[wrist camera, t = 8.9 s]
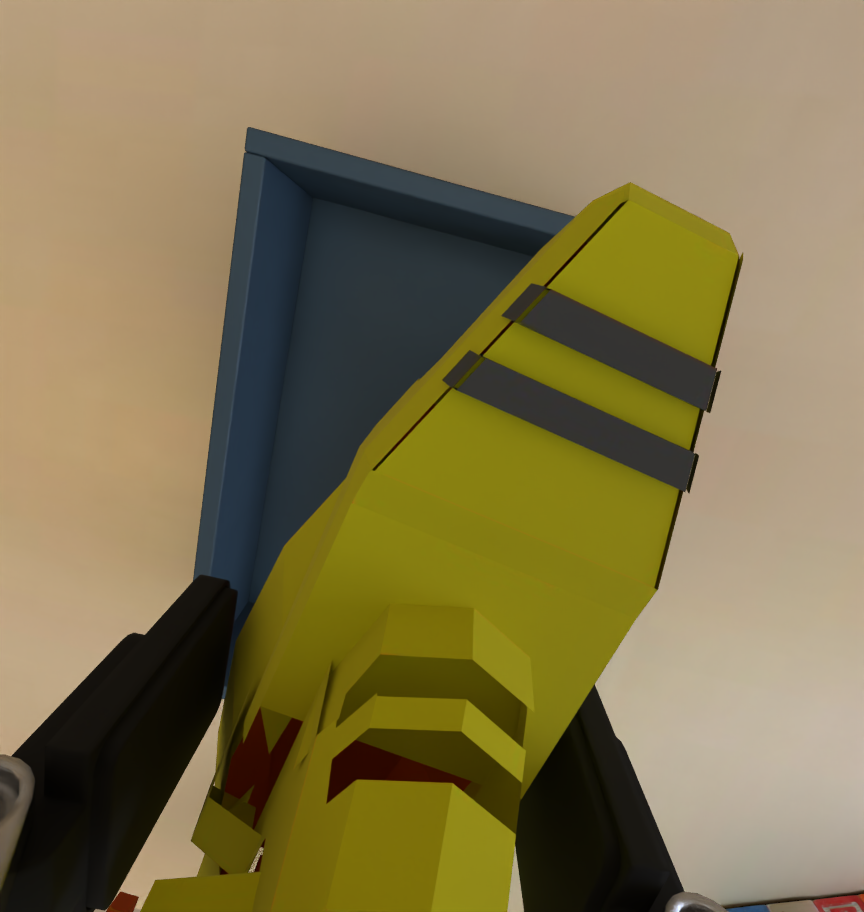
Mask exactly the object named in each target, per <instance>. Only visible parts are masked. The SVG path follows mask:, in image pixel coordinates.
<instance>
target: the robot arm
mask: <svg viewBox="0 0 864 912" xmlns="http://www.w3.org/2000/svg"><path fill="white" fill-rule="evenodd" d="M237 598H238V591H237V590H235V589H231V588H230V581H229V580H225V579H221V578H216V577H212V576H207V575H203V574H202V575H199V576H198V577H197V578H196V579H195V580H194V581H193V582H192V583H191V584H190V586H189V587H188V588H187V589H186V590H185V591H184V592H183V593H182V594H181V596H180V597H179V598H178V599H177V600H176V601H175V602H174V603H173V604H172V606H171V607H170V608H169V609H168V610H167V611H166V612H165V613H164V614H163V615H162V617H161V618H160V619H159V620H158V621H157V622H156V623H155V624H154V625H153V627H152V628H151V629H150V630H149V631H148V632H147V633H146V634H145V635H142V634H138V633H132V634H129V635H128V636H126V637H125V638H124V639H123V640H122V641H121V642H120V643H119V644H118V645H117V646H116V647H115V648H114V649H113V650H112V651H111V652H110V653H109V654H108V655H107V657H106V658H105V659H104V660H103V661H102V662H101V663H100V664H99V665H98V666H97V667H96V668H95V669H94V670H93V671H92V672H91V673H90V674H89V675H88V676H87V677H86V678H85V680H84V681H83V682H82V683H81V684H80V685H79V686H78V687H77V688H76V689H75V690H74V691H73V692H72V693H71V694H70V695H69V696H68V697H67V698H66V699H65V700H64V701H63V703H62V704H61V705H60V706H59V707H58V708H57V709H56V710H55V711H54V712H53V713H52V714H51V715H50V716H49V717H48V718H47V719H46V720H45V721H44V722H43V723H42V725H41V726H40V727H39V728H38V729H37V730H36V731H35V732H34V733H33V734H32V735H31V736H30V737H29V738H28V739H27V740H26V741H25V742H24V743H23V744H22V745H21V746H20V748H19V749H18V750H17V751H16V752H15V753H14V754H13V755H12V756H8V755H0V912H94V910H95V909H100V910H106V909H107V908H108V907H109V906H110V904H111V903H112V901H113V900H114V898H115V896H116V894H117V893H118V891H119V889H120V887H121V885H122V884H123V882H124V880H125V878H126V876H127V874H128V873H129V871H130V869H131V867H132V865H133V864H134V862H135V860H136V858H137V856H138V855H139V853H140V851H141V849H142V847H143V845H144V844H145V842H146V840H147V838H148V836H149V835H150V833H151V831H152V829H153V827H154V826H155V824H156V822H157V820H158V818H159V816H160V815H161V813H162V811H163V809H164V807H165V806H166V804H167V802H168V800H169V798H170V797H171V795H172V793H173V791H174V789H175V787H176V786H177V784H178V782H179V780H180V778H181V777H182V775H183V773H184V771H185V769H186V768H187V766H188V764H189V762H190V760H191V758H192V757H193V755H194V753H195V751H196V749H197V748H198V746H199V744H200V742H201V740H202V739H203V737H204V735H205V733H206V731H207V729H208V728H209V726H210V724H211V722H212V720H213V719H214V717H215V715H216V713H217V711H218V708H219V706H220V703H221V699H222V695H223V690H224V683H225V676H226V670H227V663H228V657H229V650H230V644H231V637H232V630H233V624H234V617H235V611H236V604H237ZM515 847H516V854H517V861H518V869H519V876H520V883H521V891H522V898H523V905H524V912H729V911H727V910H726V909H724V908H723V907H722V906H720V905H719V904H717V903H716V902H715V901H713V900H711V899H709V898H707V897H704V896H702V895H700V894H698V893H691V892H684V889H683V887H682V884H681V882H680V880H679V877H678V875H677V872H676V870H675V868H674V865H673V863H672V860H671V858H670V856H669V853H668V851H667V848H666V846H665V844H664V841H663V839H662V836H661V834H660V832H659V829H658V827H657V824H656V822H655V819H654V817H653V815H652V812H651V810H650V807H649V805H648V803H647V800H646V798H645V795H644V793H643V791H642V788H641V786H640V783H639V781H638V779H637V776H636V774H635V771H634V769H633V766H632V764H631V762H630V759H629V757H628V754H627V752H626V750H625V748H624V746H623V744H622V742H621V741H620V740H619V739H618V738H617V737H616V736H615V733H614V731H613V729H612V726H611V724H610V721H609V719H608V716H607V714H606V711H605V709H604V706H603V704H602V701H601V699H600V696H599V694H598V692H597V689H596V687H595V684H594V686H593V687H592V689H591V690H590V692H589V694H588V695H587V697H586V698H585V700H584V701H583V703H582V705H581V706H580V708H579V709H578V711H577V712H576V714H575V716H574V717H573V719H572V720H571V722H570V723H569V725H568V727H567V728H566V730H565V731H564V733H563V734H562V736H561V738H560V739H559V741H558V742H557V744H556V745H555V747H554V749H553V750H552V752H551V753H550V755H549V756H548V758H547V760H546V761H545V763H544V764H543V766H542V767H541V769H540V771H539V772H538V774H537V775H536V777H535V778H534V780H533V782H532V783H531V785H530V786H529V788H528V789H527V791H526V793H525V794H524V796H523V797H522V799H521V800H520V804H519V812H518V820H517V828H516V840H515Z"/></svg>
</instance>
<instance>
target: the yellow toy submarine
mask: <svg viewBox="0 0 864 912" xmlns="http://www.w3.org/2000/svg"><path fill="white" fill-rule="evenodd" d="M742 261H743V253H742V255H741V257H740V259H739V255H738V252H737V250H736V247H735V245H734V243H733V240H732V238H731V236H730V233H728V232H726V231H724V230H722V229H720V228H718V227H716V226H714V225H713V224H711V223H709V222H707V221H705V220H703V219H701V218H699V217H697V216H695V215H693V214H691V213H689V212H687V211H685V210H683V209H681V208H680V207H678V206H676V205H674V204H672V203H670V202H668V201H666V200H664V199H662V198H660V197H658V196H656V195H654V194H652V193H650V192H648V191H646V190H645V189H643V188H641V187H639V186H637V185H635V184H633V183H631V182H630V183H628V184H626V185H623V186H621V187H619V188H617V189H615V190H613V191H611V192H609V193H607V194H605V195H603V196H601V197H599V198H597V199H595V200H593V201H592V202H591V203H590V204H589V205H588V206H587V207H585V208H584V209H583V210H582V211H581V212H580V213H579V214H578V215H577V216H576V217H575V218H574V219H573V220H572V221H570V222H569V223H568V224H567V225H566V226H565V227H564V228H563V229H562V230H561V231H560V232H559V233H558V234H556V235H555V236H554V237H553V238H552V239H551V240H550V241H549V242H548V243H547V244H546V245H545V246H544V247H542V248H541V249H540V250H539V252H538V253H537V254H536V255H535V256H534V257H533V258H532V259H531V260H530V261H529V263H528V264H527V265H526V266H525V267H524V268H523V269H522V270H521V271H520V272H519V274H518V275H517V276H516V277H515V278H514V279H513V280H512V281H511V282H510V283H509V284H508V286H507V287H506V288H505V289H504V290H503V291H502V292H501V293H500V294H499V295H498V297H497V298H496V299H495V300H494V301H493V302H492V303H491V304H490V305H489V306H488V307H487V309H486V310H485V311H484V312H483V313H482V314H481V315H480V316H479V317H478V318H477V320H476V321H475V322H474V323H473V324H472V325H471V326H470V327H469V328H468V329H467V331H466V332H465V333H464V334H463V335H462V336H461V337H460V338H459V339H458V340H457V341H456V343H455V344H454V345H453V346H452V347H451V348H450V349H449V350H448V351H447V352H446V354H445V355H444V356H443V357H442V358H441V359H440V360H439V361H438V362H437V363H436V364H435V365H434V366H433V367H432V368H431V369H430V370H429V371H428V372H427V373H426V374H425V375H424V376H423V377H422V378H421V379H418V380H417V381H416V382H415V383H414V384H413V385H412V386H411V387H410V388H409V389H408V390H407V392H406V393H405V394H404V395H403V396H402V397H401V398H400V399H399V400H398V401H397V403H396V404H395V405H394V406H393V407H392V408H391V409H390V410H389V411H388V412H387V413H386V415H385V416H384V417H383V418H382V419H381V420H380V421H379V422H378V423H377V424H376V426H375V427H374V428H373V430H372V431H371V432H370V434H369V435H368V436H367V437H366V439H365V440H364V441H363V443H362V444H361V445H360V447H359V449H358V451H357V454H356V456H355V458H354V461H353V463H352V465H351V468H350V470H349V472H348V475H347V477H346V479H345V480H344V481H343V482H342V483H341V484H340V485H339V486H338V487H337V489H336V490H335V491H334V492H333V493H332V494H331V495H330V496H329V497H328V498H327V499H326V501H325V502H324V503H323V504H322V505H321V506H320V507H319V508H318V509H317V510H316V511H315V513H314V514H313V515H312V516H311V517H310V518H309V519H308V520H307V521H306V522H305V524H304V525H303V526H302V527H301V528H300V529H299V530H298V531H297V532H296V533H295V534H294V536H293V537H292V538H291V539H290V540H289V541H288V542H287V543H286V544H285V545H284V547H283V549H282V551H281V553H280V555H279V557H278V559H277V561H276V563H275V565H274V567H273V569H272V571H271V573H270V575H269V577H268V579H267V581H266V583H265V585H264V587H263V589H262V590H261V592H260V594H259V596H258V598H257V600H256V602H255V604H254V606H253V608H252V610H251V612H250V614H249V616H248V618H247V620H246V622H245V624H244V626H243V628H242V630H241V632H240V634H239V636H238V638H237V640H236V643H235V648H234V653H233V658H232V663H231V669H230V674H229V679H228V684H227V690H226V695H225V700H224V705H223V710H222V716H221V721H220V726H219V731H218V744H217V759H216V773H215V775H214V778H213V780H212V783H211V785H210V788H209V791H208V794H207V796H206V799H205V802H204V805H203V808H202V811H201V813H200V816H199V819H198V822H197V825H196V827H195V830H194V833H193V836H192V839H191V842H193V843H194V844H195V845H196V846H197V847H198V848H200V849H201V850H202V851H203V852H204V853H205V855H204V858H203V861H202V863H201V866H200V869H199V872H198V874H197V877H188V878H176V879H163V880H155V882H154V884H153V886H152V888H151V890H150V893H149V895H148V897H147V899H146V901H145V903H144V905H143V907H142V909H141V911H140V912H507V909H508V900H509V892H510V883H511V874H512V866H513V857H514V848H515V840H516V828H517V820H518V812H519V804H520V800H521V799H522V797H523V796H524V794H525V793H526V791H527V789H528V788H529V786H530V785H531V783H532V782H533V780H534V778H535V777H536V775H537V774H538V772H539V771H540V769H541V767H542V766H543V764H544V763H545V761H546V760H547V758H548V756H549V755H550V753H551V752H552V750H553V749H554V747H555V745H556V744H557V742H558V741H559V739H560V738H561V736H562V734H563V733H564V731H565V730H566V728H567V727H568V725H569V723H570V722H571V720H572V719H573V717H574V716H575V714H576V712H577V711H578V709H579V708H580V706H581V705H582V703H583V701H584V700H585V698H586V697H587V695H588V694H589V692H590V690H591V689H592V687H593V686H594V684H595V683H596V681H597V679H598V678H599V676H600V675H601V673H602V672H603V670H604V668H605V667H606V665H607V664H608V662H609V661H610V659H611V657H612V656H613V654H614V653H615V651H616V650H617V648H618V646H619V645H620V643H621V642H622V640H623V639H624V637H625V635H626V634H627V632H628V631H629V629H630V628H631V626H632V624H633V623H634V621H635V620H636V618H637V617H638V616H639V614H640V613H641V611H642V610H643V609H644V607H645V606H646V605H647V603H648V602H649V601H650V599H651V598H652V597H653V595H654V594H655V592H656V591H657V590H658V587H659V583H660V580H661V576H662V572H663V568H664V564H665V560H666V556H667V552H668V549H669V545H670V541H671V537H672V533H673V529H674V525H675V521H676V518H677V514H678V510H679V506H680V502H681V498H682V494H683V491H684V492H685V491H686V489H687V491H688V493H689V492H690V488H691V485H692V481H693V477H694V473H695V469H696V465H697V462H698V458H699V455H698V454H696V453H695V454H694V453H693V452H694V448H695V444H696V440H697V436H698V432H699V428H700V424H701V420H702V417H703V413H704V411H706V410H707V411H706V412H709V413H710V412H711V408H712V404H713V401H714V397H715V393H716V389H717V385H718V381H719V378H720V374H721V371H718V372H716V371H717V368H715V366H716V362H717V358H718V355H719V351H720V347H721V343H722V339H723V335H724V331H725V327H726V323H727V320H728V316H729V312H730V308H731V304H732V300H733V296H734V292H735V289H736V285H737V281H738V277H739V273H740V269H741V265H742ZM715 375H716V376H715ZM714 379H715V380H714ZM713 383H714V384H713ZM712 387H713V388H712ZM711 390H712V392H711ZM710 394H711V396H710ZM709 398H710V399H709ZM708 402H709V403H708ZM707 406H708V407H707ZM694 456H695V457H694ZM693 460H694V461H693ZM692 464H693V465H692ZM691 468H692V469H691ZM690 472H691V473H690ZM689 475H690V477H689ZM688 479H689V480H688ZM687 483H688V484H687ZM686 487H687V488H686ZM214 782H215V786H213V784H214ZM260 847H262V848H264V850H263V855H260V858H259V860H258V863H257V865H256V868H255V870H254V872H251V873H248V872H249V869H250V867H251V865H252V863H253V861H254V859H255V857H256V855H257V852H258V850H259V848H260ZM138 898H139V897H137V896H134V895H131V894H127V893H124V892H120V893H119V894H118V896H117V897H116V898H115V900H114V901H113V902H112V903H111V905H110V906H109V907H108V909H107V911H106V912H133V911H134V908H135V906H136V903H137V900H138Z"/></svg>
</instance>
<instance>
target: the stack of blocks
mask: <svg viewBox="0 0 864 912" xmlns="http://www.w3.org/2000/svg"><path fill="white" fill-rule="evenodd" d="M726 910H727V911H729V912H864V894H859V895H857V896H856V895H851V896H842V897H833V898H825V899H815V900H813V901H811V900H804V901H795V902H786V903H776V904H768V905H756V906H747V907H739V908H730V909H726Z"/></svg>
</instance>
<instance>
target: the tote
mask: <svg viewBox="0 0 864 912" xmlns="http://www.w3.org/2000/svg"><path fill="white" fill-rule="evenodd" d="M245 151H246V152H245V153H244V159H243V168H242V176H241V184H240V193H239V201H238V209H237V218H236V226H235V235H234V243H233V251H232V260H231V268H230V276H229V285H228V293H227V301H226V310H225V318H224V326H223V335H222V343H221V352H220V360H219V368H218V377H217V385H216V393H215V402H214V410H213V418H212V427H211V435H210V443H209V452H208V460H207V469H206V477H205V485H204V494H203V502H202V510H201V519H200V527H199V535H198V544H197V552H196V561H195V569H194V577H193V581H194V580H195V579H196V578H197V577H198V576H199V575H202V574H203V575H207V576H212V577H216V578H221V579H225V580H229V581H230V588H231V589H235V590H237V591H238V598H237V604H236V611H235V617H234V624H233V630H232V637H231V644H230V650H229V657H228V663H227V670H226V676H225V683H224V690H223V695H222V699H225V695H226V690H227V684H228V679H229V674H230V669H231V663H232V658H233V653H234V648H235V643H236V640H237V638H238V636H239V634H240V632H241V630H242V628H243V626H244V624H245V622H246V620H247V618H248V616H249V614H250V612H251V610H252V608H253V606H254V604H255V602H256V600H257V598H258V596H259V594H260V592H261V590H262V589H263V587H264V585H265V583H266V581H267V579H268V577H269V575H270V573H271V571H272V569H273V567H274V565H275V563H276V561H277V559H278V557H279V555H280V553H281V551H282V549H283V547H284V545H285V544H286V543H287V542H288V541H289V540H290V539H291V538H292V537H293V536H294V534H295V533H296V532H297V531H298V530H299V529H300V528H301V527H302V526H303V525H304V524H305V522H306V521H307V520H308V519H309V518H310V517H311V516H312V515H313V514H314V513H315V511H316V510H317V509H318V508H319V507H320V506H321V505H322V504H323V503H324V502H325V501H326V499H327V498H328V497H329V496H330V495H331V494H332V493H333V492H334V491H335V490H336V489H337V487H338V486H339V485H340V484H341V483H342V482H343V481H344V480H345V479H346V477H347V475H348V472H349V470H350V468H351V465H352V463H353V461H354V458H355V456H356V454H357V451H358V449H359V447H360V445H361V444H362V443H363V441H364V440H365V439H366V437H367V436H368V435H369V434H370V432H371V431H372V430H373V428H374V427H375V426H376V424H377V423H378V422H379V421H380V420H381V419H382V418H383V417H384V416H385V415H386V413H387V412H388V411H389V410H390V409H391V408H392V407H393V406H394V405H395V404H396V403H397V401H398V400H399V399H400V398H401V397H402V396H403V395H404V394H405V393H406V392H407V390H408V389H409V388H410V387H411V386H412V385H413V384H414V383H415V382H416V381H417V380H418V379H421V378H422V377H423V376H424V375H425V374H426V373H427V372H428V371H429V370H430V369H431V368H432V367H433V366H434V365H435V364H436V363H437V362H438V361H439V360H440V359H441V358H442V357H443V356H444V355H445V354H446V352H447V351H448V350H449V349H450V348H451V347H452V346H453V345H454V344H455V343H456V341H457V340H458V339H459V338H460V337H461V336H462V335H463V334H464V333H465V332H466V331H467V329H468V328H469V327H470V326H471V325H472V324H473V323H474V322H475V321H476V320H477V318H478V317H479V316H480V315H481V314H482V313H483V312H484V311H485V310H486V309H487V307H488V306H489V305H490V304H491V303H492V302H493V301H494V300H495V299H496V298H497V297H498V295H499V294H500V293H501V292H502V291H503V290H504V289H505V288H506V287H507V286H508V284H509V283H510V282H511V281H512V280H513V279H514V278H515V277H516V276H517V275H518V274H519V272H520V271H521V270H522V269H523V268H524V267H525V266H526V265H527V264H528V263H529V261H530V260H531V259H532V258H533V257H534V256H535V255H536V254H537V253H538V252H539V250H540V249H541V248H542V247H544V246H545V245H546V244H547V243H548V242H549V241H550V240H551V239H552V238H553V237H554V236H555V235H556V234H558V233H559V232H560V231H561V230H562V229H563V228H564V227H565V226H566V225H567V224H568V223H569V222H570V221H572V220H573V219H574V218H575V217H574V216H570V215H567V214H563V213H559V212H556V211H552V210H549V209H545V208H541V207H538V206H534V205H530V204H527V203H523V202H520V201H516V200H512V199H509V198H505V197H501V196H498V195H494V194H491V193H487V192H483V191H480V190H476V189H472V188H469V187H465V186H462V185H458V184H454V183H451V182H447V181H443V180H440V179H436V178H433V177H429V176H425V175H422V174H418V173H414V172H411V171H407V170H404V169H400V168H396V167H393V166H389V165H385V164H382V163H378V162H375V161H371V160H367V159H364V158H360V157H356V156H353V155H349V154H346V153H342V152H338V151H335V150H331V149H327V148H324V147H320V146H317V145H313V144H309V143H306V142H302V141H298V140H295V139H291V138H288V137H284V136H280V135H277V134H273V133H269V132H266V131H262V130H259V129H255V128H251V127H248V128H247V134H246V143H245Z"/></svg>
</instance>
